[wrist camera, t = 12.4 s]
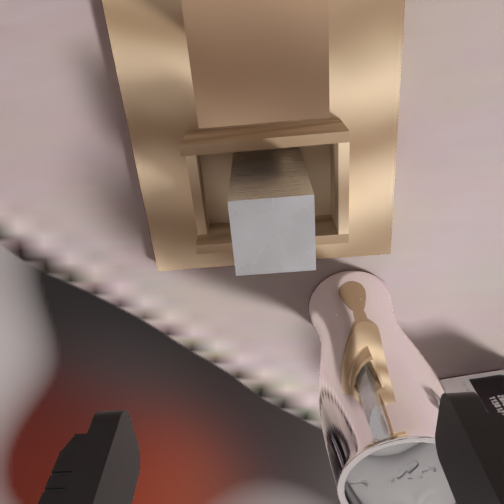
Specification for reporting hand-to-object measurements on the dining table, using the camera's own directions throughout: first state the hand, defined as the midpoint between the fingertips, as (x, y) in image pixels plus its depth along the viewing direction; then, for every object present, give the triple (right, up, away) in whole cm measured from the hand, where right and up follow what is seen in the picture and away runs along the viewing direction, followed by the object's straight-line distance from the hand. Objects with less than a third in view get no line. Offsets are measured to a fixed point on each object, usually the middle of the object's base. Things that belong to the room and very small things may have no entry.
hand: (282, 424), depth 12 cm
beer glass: (+6, +1, +23) cm, 24 cm away
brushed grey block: (0, +9, +17) cm, 20 cm away
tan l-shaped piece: (0, +11, +17) cm, 21 cm away
